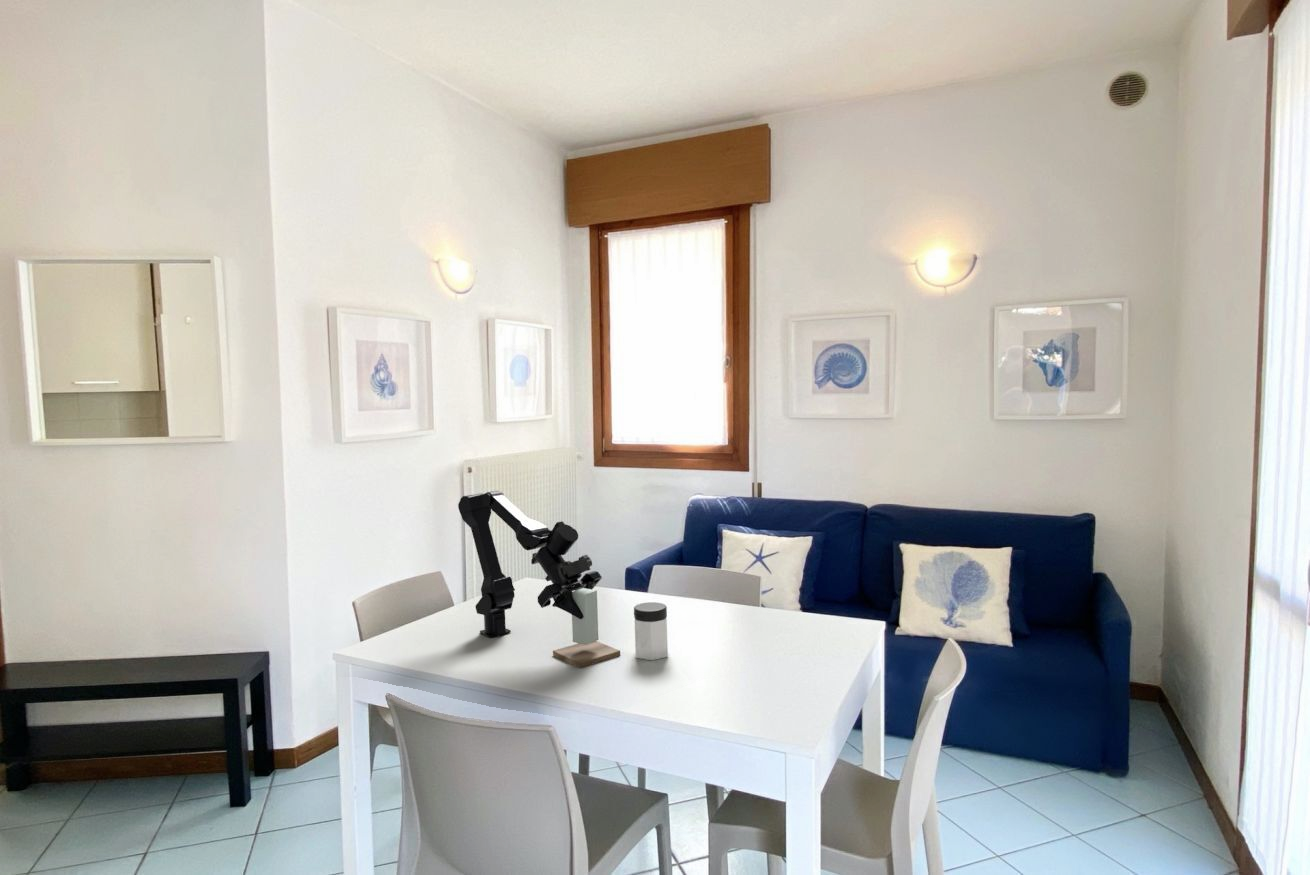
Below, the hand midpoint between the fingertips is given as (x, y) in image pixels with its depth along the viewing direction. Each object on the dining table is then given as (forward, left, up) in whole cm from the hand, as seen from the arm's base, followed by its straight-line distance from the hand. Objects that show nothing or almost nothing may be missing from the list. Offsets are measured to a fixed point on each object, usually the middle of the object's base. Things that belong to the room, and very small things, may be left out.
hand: (588, 615), depth 173 cm
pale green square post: (-1, 0, -7) cm, 7 cm away
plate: (-1, 0, -10) cm, 10 cm away
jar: (+10, +12, -10) cm, 18 cm away
